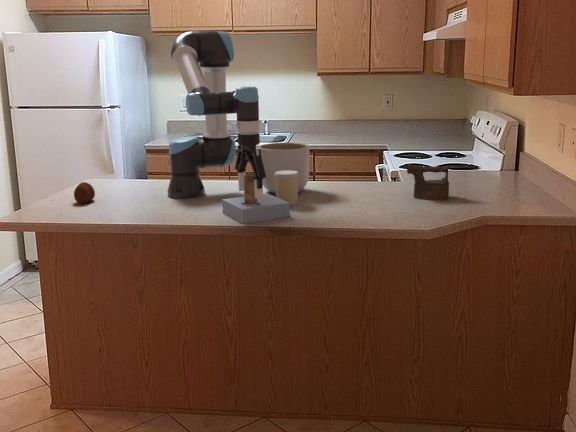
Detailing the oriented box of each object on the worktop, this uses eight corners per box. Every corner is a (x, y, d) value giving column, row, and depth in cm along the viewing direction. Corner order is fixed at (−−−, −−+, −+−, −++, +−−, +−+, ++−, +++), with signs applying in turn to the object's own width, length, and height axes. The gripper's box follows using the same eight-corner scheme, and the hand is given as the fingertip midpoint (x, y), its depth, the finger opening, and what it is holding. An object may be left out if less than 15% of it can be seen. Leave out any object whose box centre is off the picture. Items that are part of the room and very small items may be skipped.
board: (222, 212, 231) (222, 199, 230) (267, 206, 239) (266, 193, 238) (242, 223, 216) (242, 209, 215) (289, 216, 224) (289, 202, 223)
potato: (70, 205, 248) (68, 185, 246) (79, 199, 259) (77, 179, 257) (90, 205, 248) (87, 185, 246) (98, 198, 259) (96, 179, 257)
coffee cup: (298, 199, 249) (298, 169, 246) (299, 205, 240) (299, 174, 237) (274, 200, 249) (273, 170, 246) (275, 206, 240) (274, 174, 237)
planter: (282, 199, 250) (281, 151, 246) (249, 191, 266) (248, 146, 261) (320, 191, 264) (319, 145, 259) (287, 184, 279) (286, 141, 274)
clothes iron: (405, 195, 252) (406, 162, 249) (446, 195, 251) (447, 161, 248) (407, 200, 245) (408, 165, 241) (449, 199, 244) (451, 165, 240)
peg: (242, 217, 225) (241, 175, 221) (254, 215, 227) (253, 173, 223) (248, 219, 221) (246, 177, 217) (260, 218, 223) (258, 176, 219)
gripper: (224, 130, 225) (226, 188, 231) (253, 137, 204) (256, 202, 209) (243, 128, 229) (245, 186, 234) (274, 136, 207) (276, 199, 213)
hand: (250, 194), depth 222 cm, fingers open, 13 cm apart
